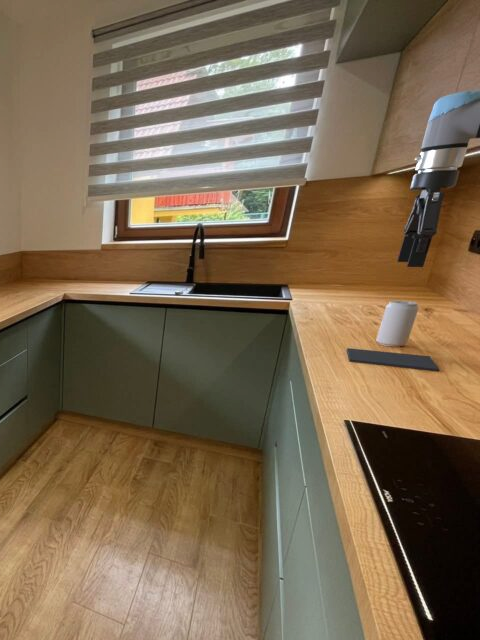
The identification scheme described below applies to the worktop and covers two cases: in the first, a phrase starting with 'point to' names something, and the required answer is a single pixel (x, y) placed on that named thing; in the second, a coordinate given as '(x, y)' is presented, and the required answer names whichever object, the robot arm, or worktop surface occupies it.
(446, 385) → the worktop surface
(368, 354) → the mat
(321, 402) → the worktop surface
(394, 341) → the beverage can
